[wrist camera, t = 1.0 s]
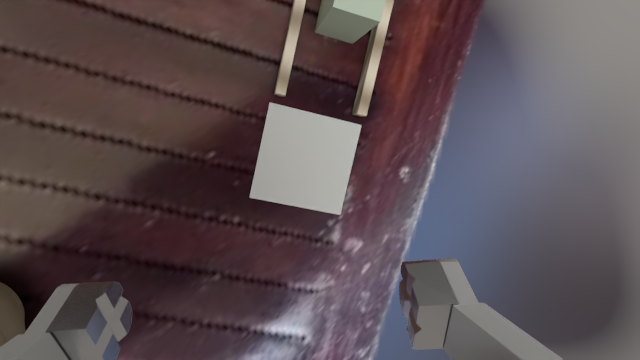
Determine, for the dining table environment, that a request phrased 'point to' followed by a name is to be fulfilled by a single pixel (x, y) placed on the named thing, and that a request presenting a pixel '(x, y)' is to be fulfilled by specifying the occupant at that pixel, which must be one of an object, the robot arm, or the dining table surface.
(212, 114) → the dining table surface
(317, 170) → the mat
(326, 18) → the block
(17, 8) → the dining table surface
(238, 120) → the dining table surface
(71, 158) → the dining table surface
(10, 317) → the planter bowl
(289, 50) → the lane
